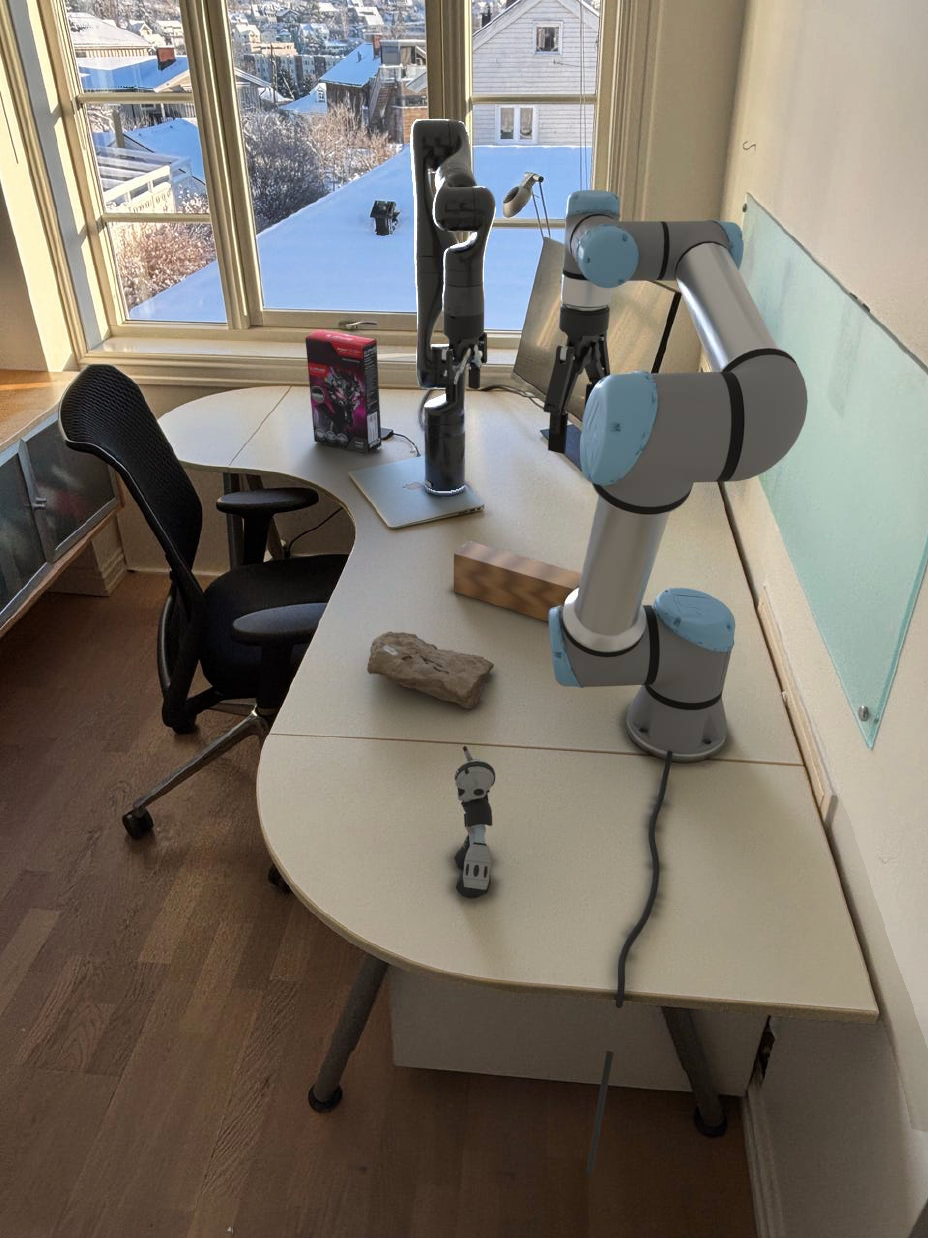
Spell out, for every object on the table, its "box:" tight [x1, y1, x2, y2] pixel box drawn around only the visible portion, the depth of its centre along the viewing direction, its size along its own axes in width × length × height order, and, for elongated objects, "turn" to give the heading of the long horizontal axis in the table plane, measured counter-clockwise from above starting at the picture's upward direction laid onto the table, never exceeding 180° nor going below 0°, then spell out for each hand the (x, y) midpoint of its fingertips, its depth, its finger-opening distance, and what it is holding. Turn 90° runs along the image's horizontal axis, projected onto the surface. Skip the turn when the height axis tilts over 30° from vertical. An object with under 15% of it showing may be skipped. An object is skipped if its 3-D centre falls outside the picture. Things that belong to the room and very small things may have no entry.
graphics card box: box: [304, 329, 382, 454], centre depth 226 cm, size 17×7×27 cm, turn 62°
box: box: [453, 540, 582, 623], centre depth 171 cm, size 25×6×8 cm, turn 60°
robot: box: [453, 745, 496, 899], centre depth 114 cm, size 20×5×20 cm, turn 3°
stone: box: [366, 631, 495, 710], centre depth 151 cm, size 21×15×6 cm
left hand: (462, 395), depth 175 cm, fingers open, 8 cm apart
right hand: (574, 436), depth 150 cm, fingers open, 13 cm apart
